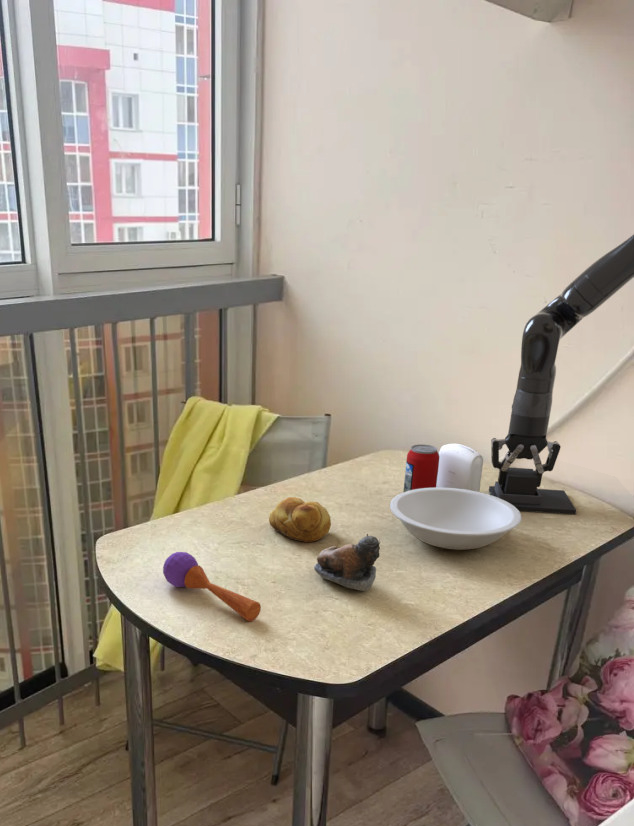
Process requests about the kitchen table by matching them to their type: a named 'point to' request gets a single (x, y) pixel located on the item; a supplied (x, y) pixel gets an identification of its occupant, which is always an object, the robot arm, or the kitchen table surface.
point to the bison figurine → (350, 563)
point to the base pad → (537, 500)
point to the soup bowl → (454, 516)
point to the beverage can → (421, 467)
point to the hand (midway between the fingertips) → (518, 487)
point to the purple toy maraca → (205, 584)
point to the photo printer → (459, 467)
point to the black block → (520, 481)
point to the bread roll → (300, 519)
